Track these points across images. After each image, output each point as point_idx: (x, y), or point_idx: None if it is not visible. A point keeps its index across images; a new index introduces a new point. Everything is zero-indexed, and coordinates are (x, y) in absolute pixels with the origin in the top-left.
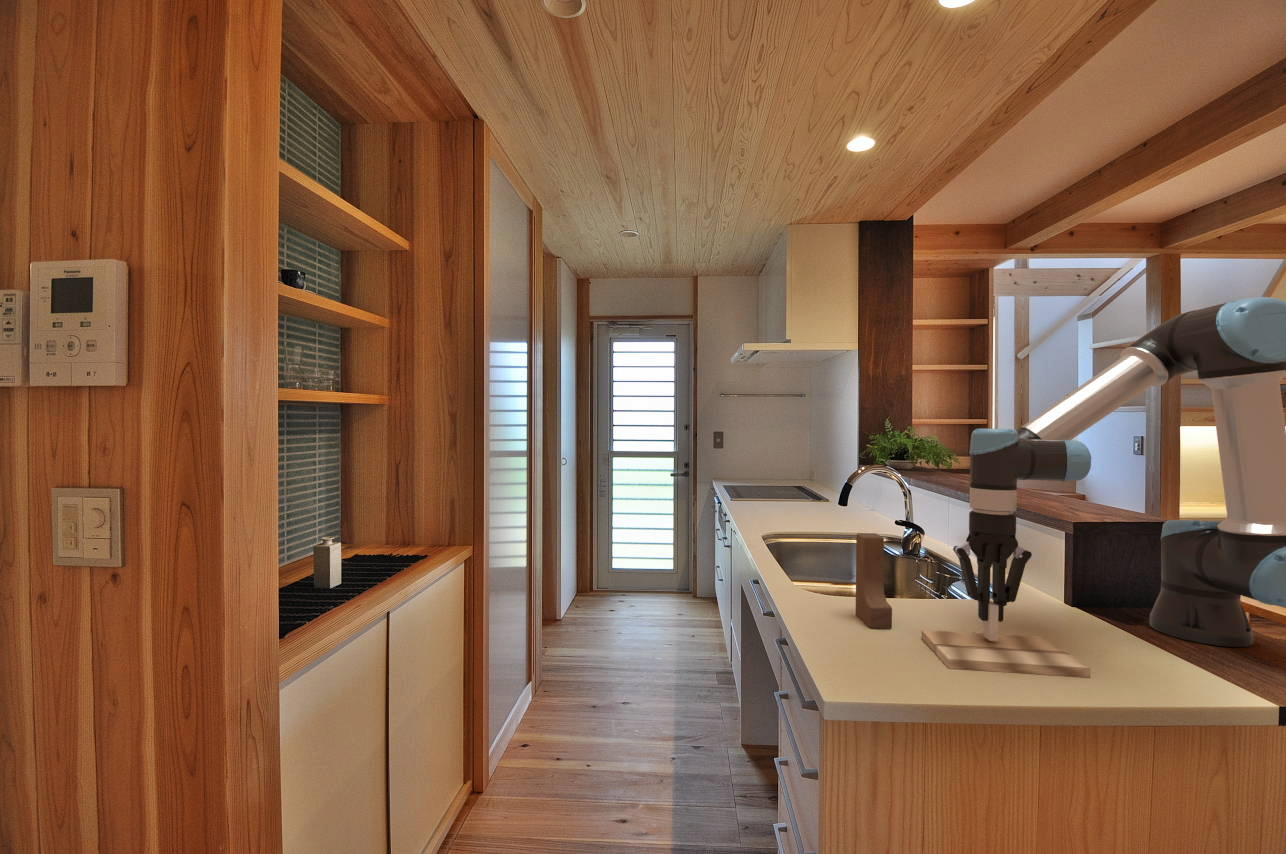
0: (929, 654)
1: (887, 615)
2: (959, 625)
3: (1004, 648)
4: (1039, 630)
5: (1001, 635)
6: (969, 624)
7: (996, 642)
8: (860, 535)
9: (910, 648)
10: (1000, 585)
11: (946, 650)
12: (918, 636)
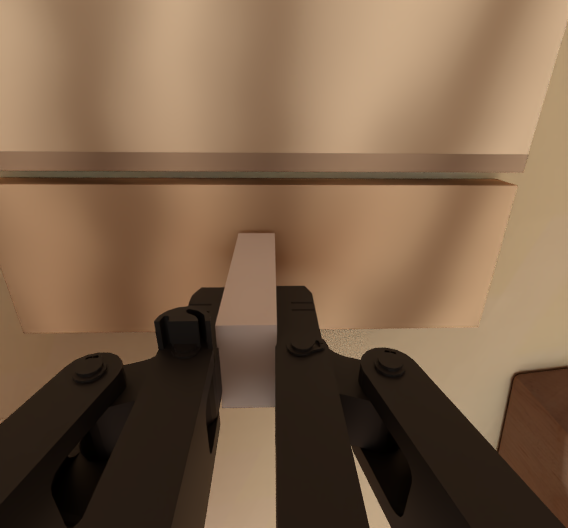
0: None
1: (566, 407)
2: (269, 436)
3: (230, 183)
4: None
5: None
6: (233, 448)
7: None
8: None
9: (562, 208)
10: (153, 483)
11: (515, 104)
12: (458, 328)
